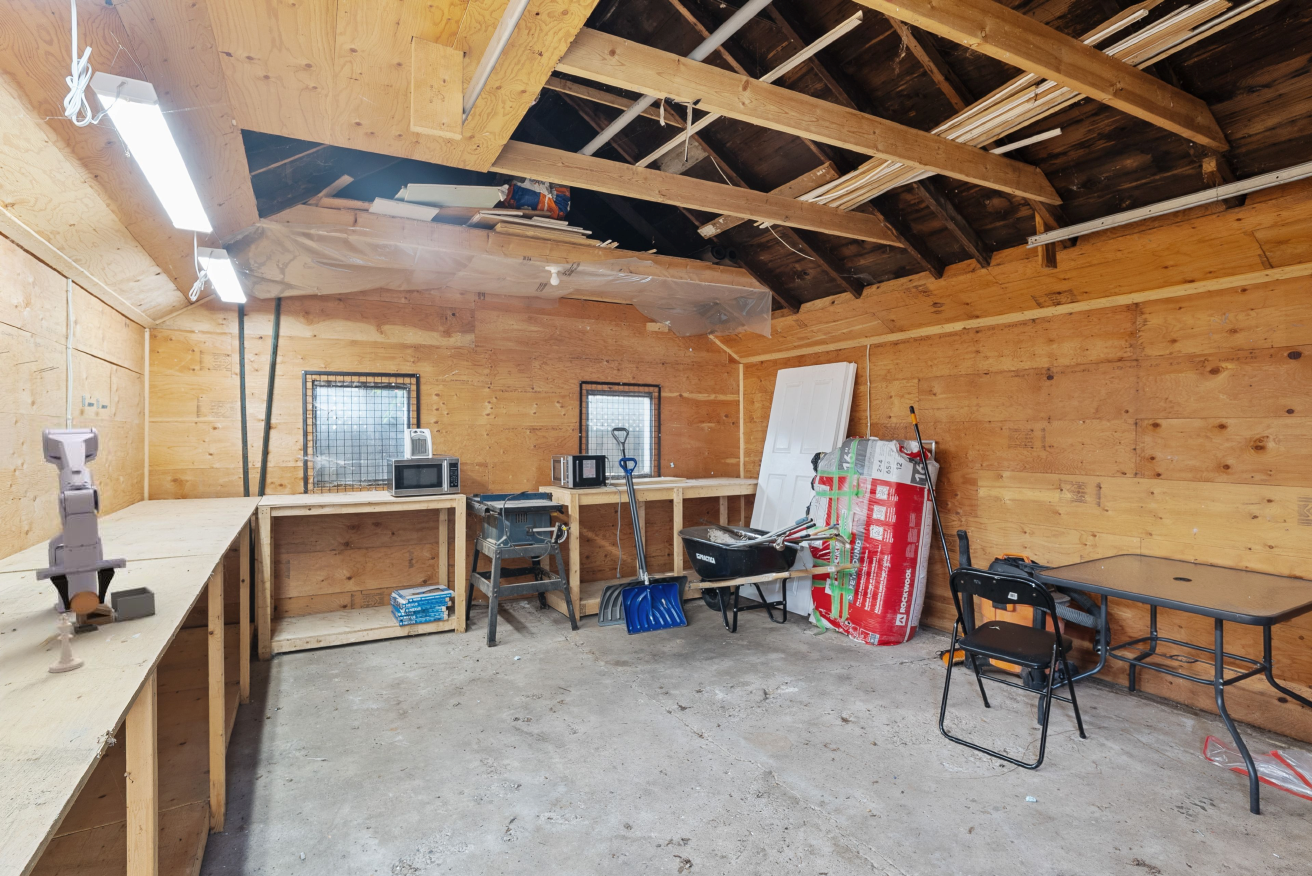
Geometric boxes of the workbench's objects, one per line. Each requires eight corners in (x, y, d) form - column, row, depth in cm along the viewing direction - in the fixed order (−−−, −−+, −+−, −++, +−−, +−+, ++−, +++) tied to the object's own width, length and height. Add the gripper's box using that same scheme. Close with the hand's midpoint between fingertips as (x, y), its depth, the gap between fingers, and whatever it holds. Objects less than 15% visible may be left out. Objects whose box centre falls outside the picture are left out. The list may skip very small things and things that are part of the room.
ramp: (76, 620, 147) (74, 598, 147) (108, 614, 152) (107, 593, 152) (81, 628, 142) (79, 605, 142) (114, 621, 146) (113, 599, 146)
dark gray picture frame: (73, 630, 141) (73, 626, 141) (95, 626, 143) (95, 622, 143) (76, 634, 138) (75, 630, 138) (98, 629, 141) (97, 626, 141)
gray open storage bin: (109, 613, 152) (108, 592, 152) (147, 606, 157) (146, 586, 157) (116, 621, 146) (115, 599, 146) (155, 614, 152) (154, 593, 151)
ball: (68, 615, 140) (66, 592, 140) (98, 609, 144) (97, 587, 144) (71, 618, 137) (69, 594, 137) (102, 612, 141) (100, 589, 141)
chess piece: (62, 673, 117) (59, 619, 117) (41, 671, 118) (38, 617, 118) (91, 662, 122) (88, 610, 122) (70, 661, 123) (67, 609, 123)
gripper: (37, 553, 132) (40, 618, 133) (127, 541, 143) (130, 602, 143) (33, 548, 137) (37, 611, 137) (121, 537, 147) (124, 595, 148)
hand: (84, 606), depth 141 cm, fingers closed on ball, 5 cm apart
